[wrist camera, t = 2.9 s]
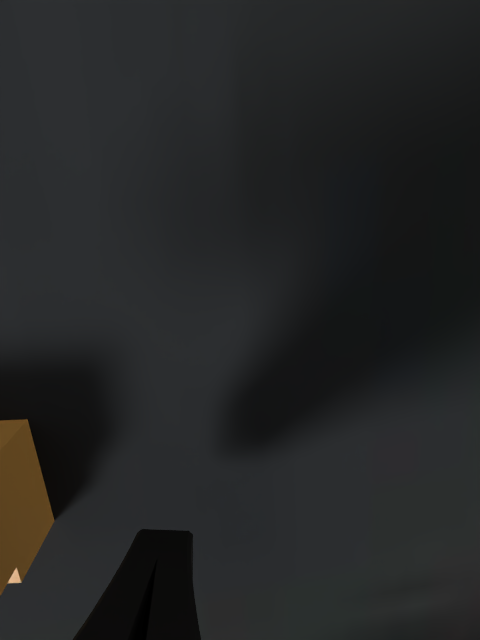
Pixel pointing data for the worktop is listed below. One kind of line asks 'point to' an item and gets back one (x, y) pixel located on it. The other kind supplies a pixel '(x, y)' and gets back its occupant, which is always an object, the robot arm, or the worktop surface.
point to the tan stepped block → (20, 502)
